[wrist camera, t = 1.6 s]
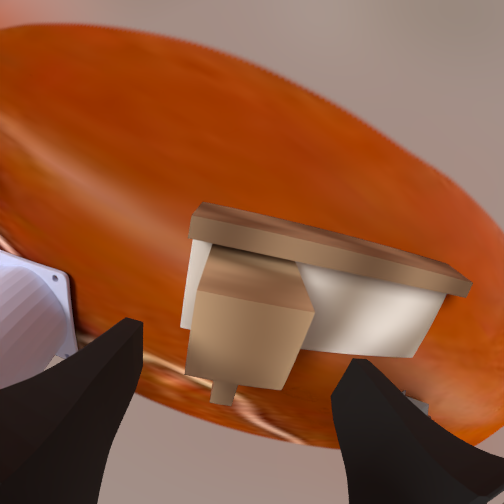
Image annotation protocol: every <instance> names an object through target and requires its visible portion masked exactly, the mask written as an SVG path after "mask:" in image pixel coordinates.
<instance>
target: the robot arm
mask: <svg viewBox="0 0 504 504" xmlns="http://www.w3.org/2000/svg"><path fill="white" fill-rule="evenodd" d="M55 275H56V276H57V278H58V279H57V278H56V276H55ZM55 355H57V356H59V357H61V358H64V359H65V360H63V361H61V362H60V363H58V364H56V365H55V366H53V367H51V368H49V369H47V370H45V371H44V369H45V368H46V367H47V365H48V364H49V362H50V361H51V360H52V358H53V357H54V356H55ZM142 367H143V322H141V321H138V320H134V319H130V318H127V317H126V318H124V319H123V320H121V321H120V322H118V323H117V324H116V325H114V326H113V327H112V328H110V329H109V330H108V331H106V332H105V333H103V334H102V335H101V336H99V337H98V338H97V339H95V340H94V341H92V342H91V343H89V344H88V345H86V346H85V347H83V348H82V349H81V350H79V351H78V347H77V341H76V335H75V329H74V322H73V314H72V305H71V296H70V284H69V277H68V275H67V274H66V273H65V272H63V271H60V270H57V269H54V268H51V267H48V266H45V265H42V264H39V263H36V262H33V261H30V260H27V259H24V258H21V257H18V256H16V255H13V254H10V253H8V252H5V251H2V250H0V504H97V502H98V496H99V491H100V487H101V482H102V478H103V473H104V469H105V465H106V462H107V458H108V454H109V450H110V448H111V445H112V442H113V440H114V437H115V435H116V433H117V430H118V428H119V425H120V423H121V421H122V419H123V416H124V414H125V412H126V410H127V408H128V406H129V403H130V401H131V399H132V396H133V394H134V392H135V390H136V386H137V383H138V380H139V377H140V374H141V370H142ZM331 403H332V413H333V420H334V425H335V429H336V433H337V437H338V441H339V445H340V449H341V453H342V457H343V461H344V465H345V469H346V475H347V482H348V494H349V504H487V502H488V501H490V500H492V499H493V498H494V497H496V496H497V495H498V494H500V493H501V492H503V491H504V458H502V457H499V456H496V455H493V454H490V453H487V452H485V451H483V450H480V449H478V448H476V447H474V446H472V445H470V444H468V443H466V442H465V441H463V440H461V439H459V438H458V437H456V436H454V435H453V434H451V433H450V432H448V431H447V430H445V429H444V428H443V427H441V426H440V425H438V424H437V423H436V422H434V421H433V420H432V419H431V418H429V417H428V416H427V415H426V414H425V413H424V412H422V411H421V410H420V409H419V408H418V407H417V406H416V405H414V404H413V403H412V402H411V401H410V400H409V399H408V398H407V397H406V396H405V395H404V394H403V393H402V392H401V391H400V390H399V389H398V388H397V387H396V386H395V385H394V384H393V383H392V382H391V381H390V380H389V379H388V378H387V377H386V376H385V375H384V374H383V373H382V372H380V371H379V370H378V369H377V368H376V367H375V366H374V365H373V364H372V363H371V362H370V361H368V360H367V359H355V358H353V359H352V361H351V363H350V364H349V366H348V368H347V370H346V371H345V373H344V375H343V377H342V378H341V380H340V382H339V383H338V385H337V387H336V388H335V390H334V392H333V393H332V395H331ZM503 504H504V503H503Z"/></svg>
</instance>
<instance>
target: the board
mask: <svg viewBox="0 0 504 504" xmlns="http://www.w3.org/2000/svg"><path fill="white" fill-rule="evenodd" d="M188 238H190V239H193V243H192V249H191V255H190V261H189V267H188V274H187V281H186V288H185V295H184V302H183V310H182V317H181V326H180V327H181V328H186V329H190V330H191V324H192V317H193V311H194V304H195V298H196V292H197V288H198V285H199V282H200V279H201V276H202V273H203V270H204V267H205V264H206V261H207V258H208V256H209V253H210V250H211V247H212V244H218V245H222V246H227V247H232V248H236V249H241V250H246V251H250V252H255V253H260V254H264V255H269V256H274V257H278V258H283V259H288V260H292V261H295V262H296V265H297V267H298V270H299V272H300V275H301V277H302V280H303V283H304V285H305V288H306V290H307V293H308V295H309V298H310V301H311V303H312V306H313V308H314V311H315V314H314V317H313V319H312V322H311V324H310V327H309V329H308V331H307V334H306V336H305V339H304V341H303V343H302V346H301V348H300V349H306V350H314V351H323V352H332V353H343V354H354V355H367V356H383V357H404V358H412V357H413V356H414V354H415V352H416V351H417V349H418V347H419V346H420V344H421V342H422V340H423V339H424V337H425V335H426V333H427V332H428V330H429V328H430V326H431V324H432V322H433V321H434V319H435V317H436V315H437V313H438V311H439V309H440V307H441V305H442V303H443V301H444V299H445V297H446V294H451V295H456V296H460V297H465V298H466V297H467V295H468V293H469V291H470V288H471V286H472V284H473V283H472V282H471V281H470V280H468V279H467V278H466V277H464V276H463V275H462V274H460V273H459V272H458V271H456V270H455V269H454V268H452V267H451V266H449V265H448V264H446V263H443V262H440V261H436V260H433V259H430V258H426V257H423V256H420V255H416V254H413V253H409V252H406V251H402V250H399V249H395V248H392V247H388V246H385V245H381V244H377V243H374V242H370V241H366V240H363V239H359V238H355V237H351V236H347V235H344V234H340V233H336V232H332V231H328V230H324V229H320V228H316V227H312V226H308V225H304V224H300V223H296V222H292V221H287V220H283V219H279V218H275V217H270V216H266V215H262V214H257V213H253V212H248V211H244V210H239V209H235V208H230V207H225V206H221V205H216V204H211V203H206V202H202V203H201V205H200V206H199V207H198V208H197V210H196V211H195V212H194V213H193V214H192V217H191V223H190V229H189V235H188Z"/></svg>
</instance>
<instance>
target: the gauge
mask: <svg viewBox="0 0 504 504" xmlns="http://www.w3.org/2000/svg"><path fill="white" fill-rule="evenodd" d="M314 314H315V311H314V308H313V306H312V303H311V301H310V298H309V295H308V293H307V290H306V288H305V285H304V283H303V280H302V277H301V275H300V272H299V270H298V267H297V265H296V262H295V261H292V260H288V259H283V258H278V257H274V256H269V255H264V254H260V253H255V252H250V251H246V250H241V249H236V248H232V247H227V246H222V245H218V244H212V247H211V250H210V253H209V256H208V258H207V261H206V264H205V267H204V270H203V273H202V276H201V279H200V282H199V285H198V288H197V292H196V298H195V304H194V311H193V317H192V324H191V331H190V338H189V345H188V352H187V360H186V367H185V375H189V376H193V377H198V378H203V379H208V380H213V384H212V389H211V397H210V403H215V404H221V405H227V406H231V405H232V402H233V399H234V396H235V393H236V389H237V386H238V385H244V386H251V387H258V388H266V389H275V390H282V388H283V386H284V384H285V382H286V380H287V377H288V375H289V373H290V371H291V369H292V366H293V364H294V362H295V360H296V357H297V355H298V353H299V350H300V348H301V346H302V343H303V341H304V339H305V336H306V334H307V331H308V329H309V327H310V324H311V322H312V319H313V317H314Z"/></svg>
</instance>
